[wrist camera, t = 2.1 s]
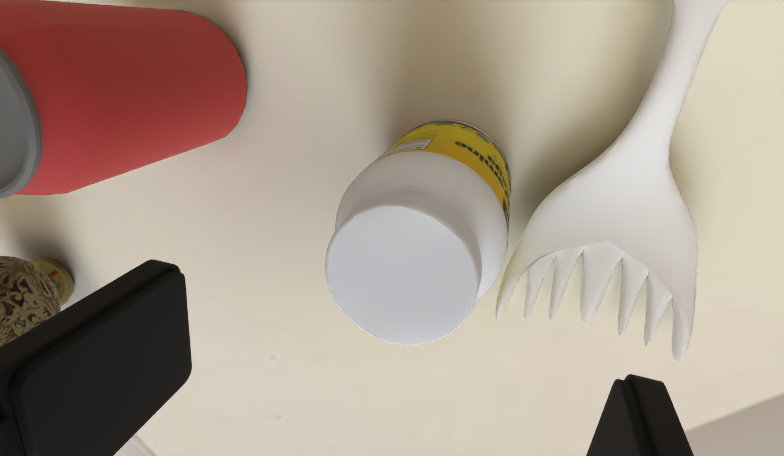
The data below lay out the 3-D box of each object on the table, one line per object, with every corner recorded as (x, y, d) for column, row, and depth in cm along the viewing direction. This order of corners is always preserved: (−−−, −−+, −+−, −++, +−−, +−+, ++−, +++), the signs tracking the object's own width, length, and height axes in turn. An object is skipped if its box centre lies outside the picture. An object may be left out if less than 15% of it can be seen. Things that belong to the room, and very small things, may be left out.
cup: (17, 303, 35) (-112, 371, 28) (5, 214, 32) (-142, 266, 25) (104, 335, 34) (-6, 415, 27) (100, 248, 31) (-25, 312, 24)
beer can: (251, 17, 23) (19, 0, 12) (255, 149, 26) (66, 230, 15) (134, 5, 24) (-169, -18, 14) (149, 132, 27) (-95, 197, 16)
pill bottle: (529, 213, 23) (539, 343, 13) (417, 250, 26) (354, 385, 16) (483, 95, 22) (456, 143, 12) (368, 145, 24) (265, 221, 14)
